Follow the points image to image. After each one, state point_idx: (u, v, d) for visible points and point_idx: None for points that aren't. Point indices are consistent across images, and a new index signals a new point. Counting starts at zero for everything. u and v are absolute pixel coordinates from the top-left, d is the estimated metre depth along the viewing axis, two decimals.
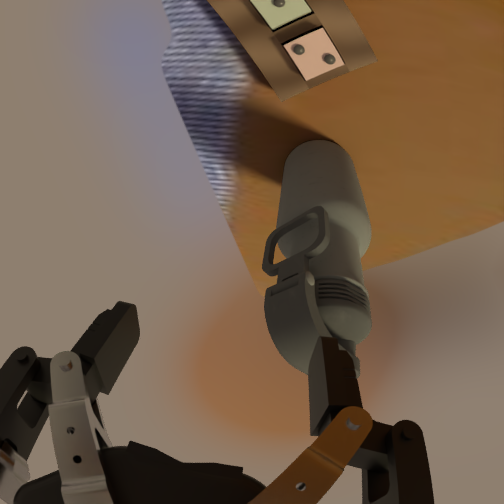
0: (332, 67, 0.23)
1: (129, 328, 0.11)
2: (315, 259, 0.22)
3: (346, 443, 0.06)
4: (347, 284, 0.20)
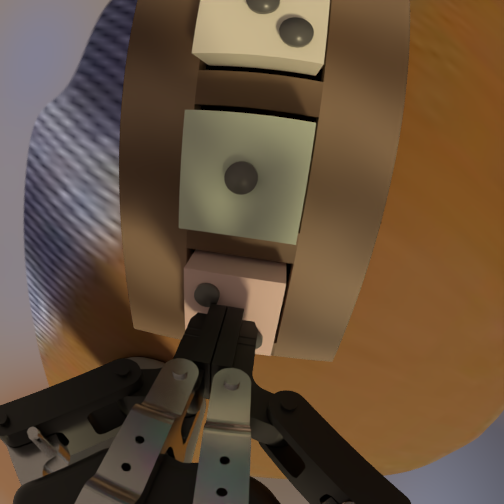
0: None
1: None
2: None
3: (236, 404, 0.08)
4: None
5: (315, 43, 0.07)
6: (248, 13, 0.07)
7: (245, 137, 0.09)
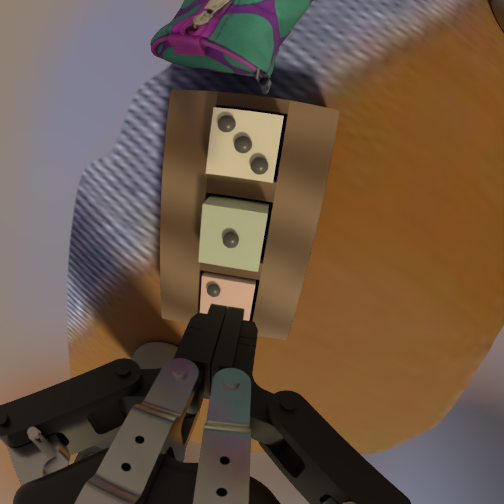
0: None
1: None
2: None
3: (236, 404, 0.08)
4: None
5: (269, 170, 0.18)
6: (235, 151, 0.17)
7: (232, 220, 0.19)
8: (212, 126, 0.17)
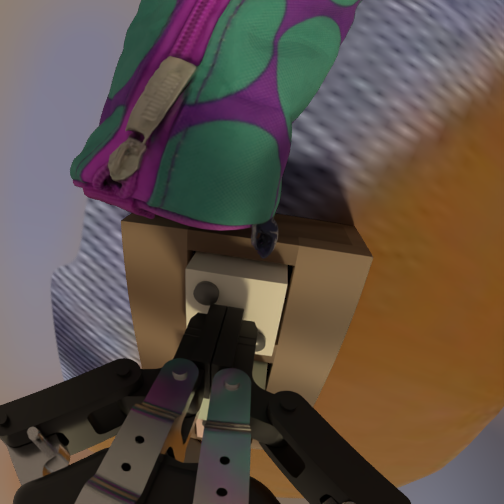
0: None
1: None
2: None
3: (236, 404, 0.08)
4: None
5: (267, 345, 0.14)
6: None
7: None
8: (188, 292, 0.13)
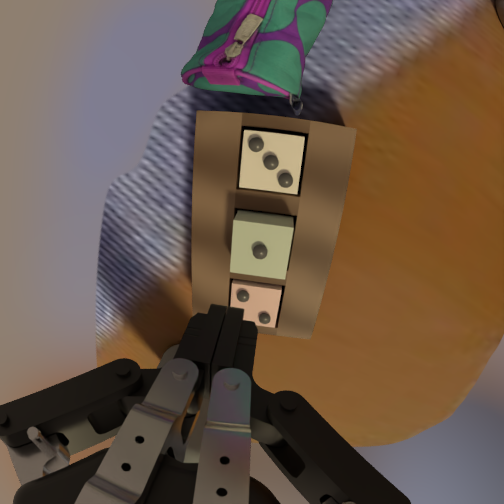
0: (261, 324, 0.27)
1: None
2: None
3: (236, 404, 0.08)
4: None
5: (293, 184, 0.21)
6: (264, 168, 0.21)
7: (261, 234, 0.21)
8: (244, 146, 0.20)
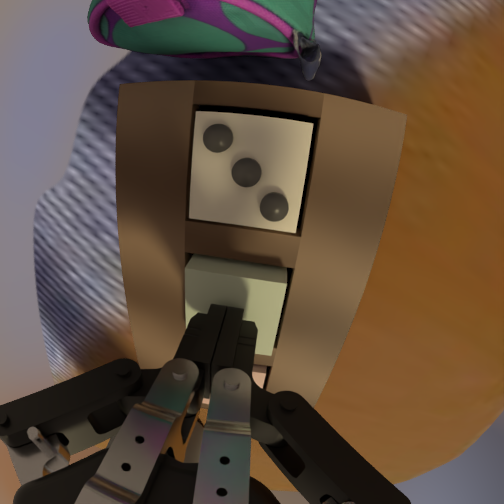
0: None
1: None
2: None
3: (236, 404, 0.08)
4: None
5: (290, 214, 0.11)
6: (234, 184, 0.11)
7: (232, 292, 0.12)
8: (196, 143, 0.10)
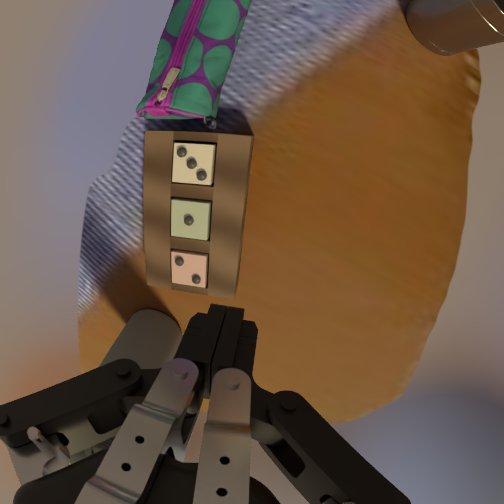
0: (195, 285, 0.36)
1: None
2: None
3: (236, 404, 0.08)
4: None
5: (207, 178, 0.30)
6: (187, 168, 0.30)
7: (189, 208, 0.32)
8: (174, 154, 0.29)
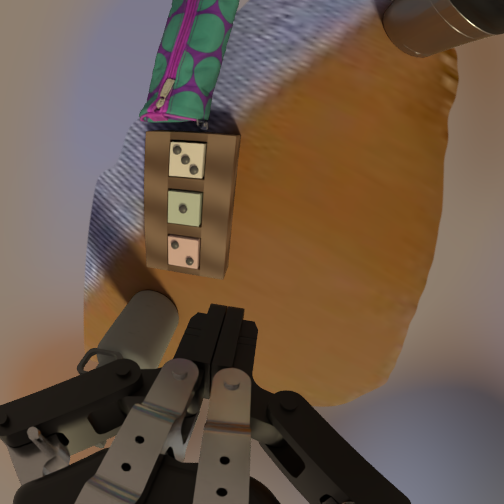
0: (188, 266, 0.41)
1: None
2: None
3: (236, 404, 0.08)
4: None
5: (199, 172, 0.35)
6: (182, 164, 0.34)
7: (183, 198, 0.36)
8: (170, 151, 0.34)
